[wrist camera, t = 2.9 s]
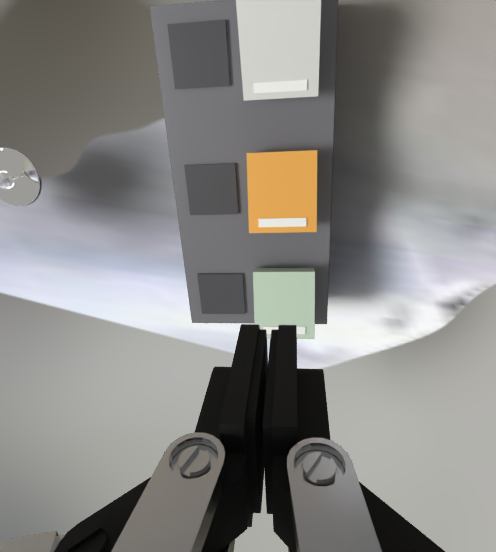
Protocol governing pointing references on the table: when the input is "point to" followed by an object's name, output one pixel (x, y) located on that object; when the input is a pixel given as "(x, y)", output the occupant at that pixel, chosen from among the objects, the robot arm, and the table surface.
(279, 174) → the orange white-striped slab
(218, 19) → the power strip
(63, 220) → the table surface
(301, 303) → the green rocker
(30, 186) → the wineglass
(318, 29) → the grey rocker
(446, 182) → the table surface
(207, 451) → the robot arm
